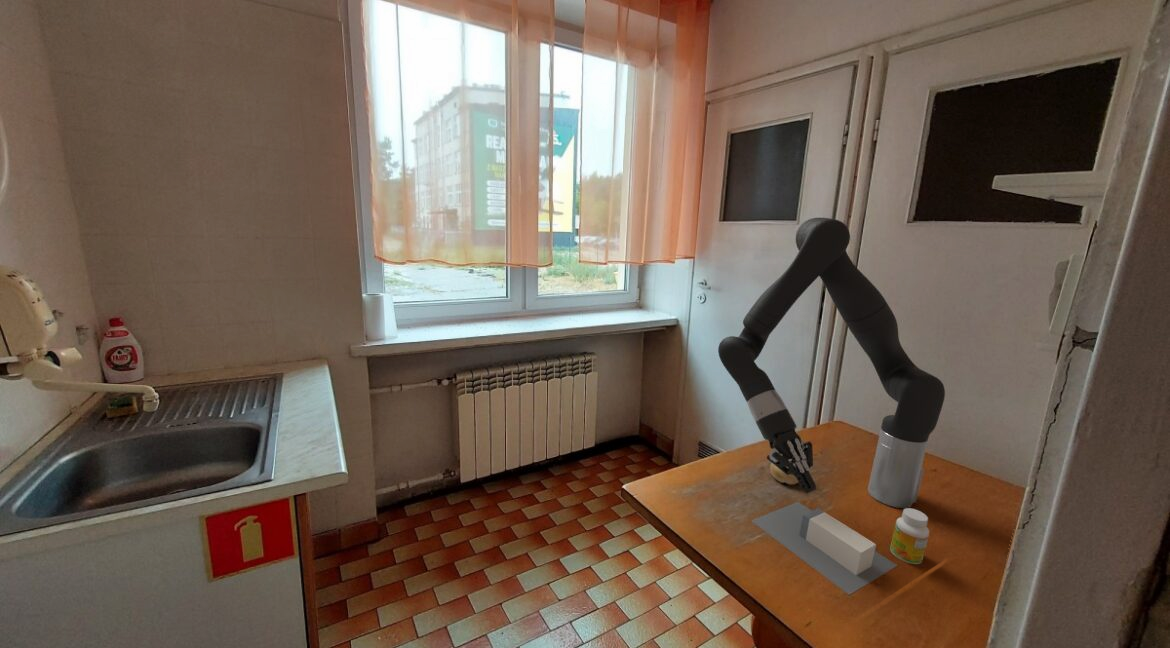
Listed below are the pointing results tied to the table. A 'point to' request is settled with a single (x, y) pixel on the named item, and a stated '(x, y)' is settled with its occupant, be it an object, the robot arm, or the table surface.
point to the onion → (782, 475)
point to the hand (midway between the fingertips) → (811, 491)
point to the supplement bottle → (910, 536)
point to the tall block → (837, 541)
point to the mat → (787, 532)
